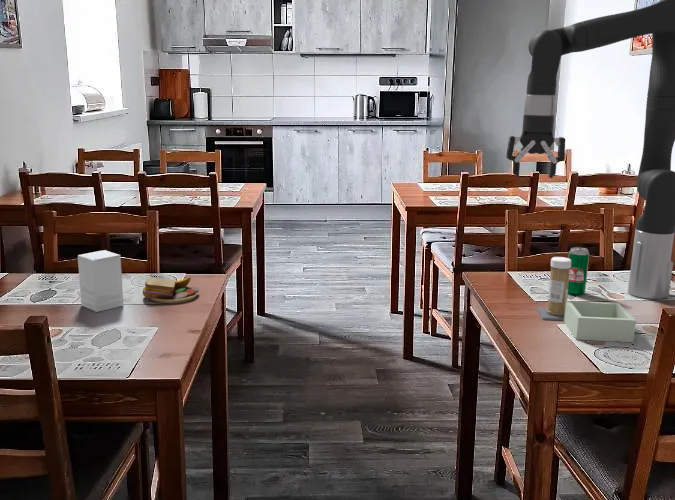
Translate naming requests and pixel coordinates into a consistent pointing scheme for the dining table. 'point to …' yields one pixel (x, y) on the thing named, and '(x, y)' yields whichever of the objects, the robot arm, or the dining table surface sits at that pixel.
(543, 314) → the coaster
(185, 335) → the dining table surface
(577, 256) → the soda can
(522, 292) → the dining table surface
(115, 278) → the supplement box
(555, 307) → the sprinkles bottle
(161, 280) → the toy sandwich meal
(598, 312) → the crate
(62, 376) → the dining table surface
